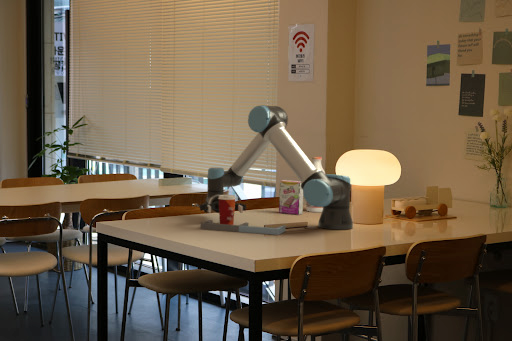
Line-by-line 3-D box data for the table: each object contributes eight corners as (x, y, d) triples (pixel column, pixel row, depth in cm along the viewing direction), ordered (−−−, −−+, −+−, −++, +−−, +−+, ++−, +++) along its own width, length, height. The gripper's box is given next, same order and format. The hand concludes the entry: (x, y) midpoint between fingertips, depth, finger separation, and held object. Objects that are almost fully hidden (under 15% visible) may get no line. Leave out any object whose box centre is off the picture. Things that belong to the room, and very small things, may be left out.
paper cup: (233, 230, 310) (233, 196, 309) (215, 229, 312) (216, 196, 311) (237, 227, 318) (238, 195, 317) (220, 226, 320) (220, 194, 319)
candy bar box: (278, 213, 369) (279, 180, 368) (282, 212, 373) (283, 179, 372) (298, 215, 364) (299, 181, 362) (303, 214, 368) (304, 181, 367)
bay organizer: (285, 231, 311) (285, 225, 311) (278, 234, 301) (278, 228, 301) (209, 225, 321) (209, 219, 321) (200, 228, 311) (200, 223, 311)
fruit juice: (309, 209, 386) (311, 156, 384) (326, 211, 382) (328, 157, 380) (303, 211, 377) (305, 156, 375) (321, 213, 374) (323, 157, 372)
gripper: (245, 212, 338) (254, 218, 317) (190, 212, 333) (196, 218, 312) (245, 195, 337) (255, 201, 317) (191, 195, 332) (197, 201, 311)
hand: (226, 209), depth 314 cm, fingers open, 13 cm apart
